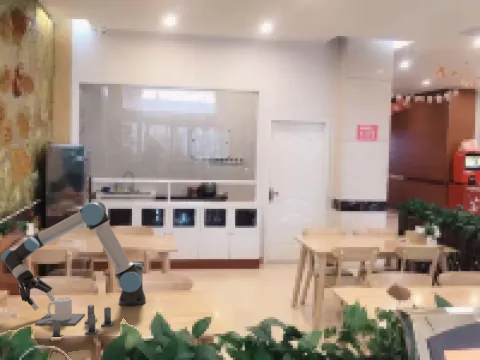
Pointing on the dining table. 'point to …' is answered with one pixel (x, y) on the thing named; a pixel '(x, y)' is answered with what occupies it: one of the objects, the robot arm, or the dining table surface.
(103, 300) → the dining table surface
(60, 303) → the cup
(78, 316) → the mat
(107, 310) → the posts
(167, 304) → the dining table surface
